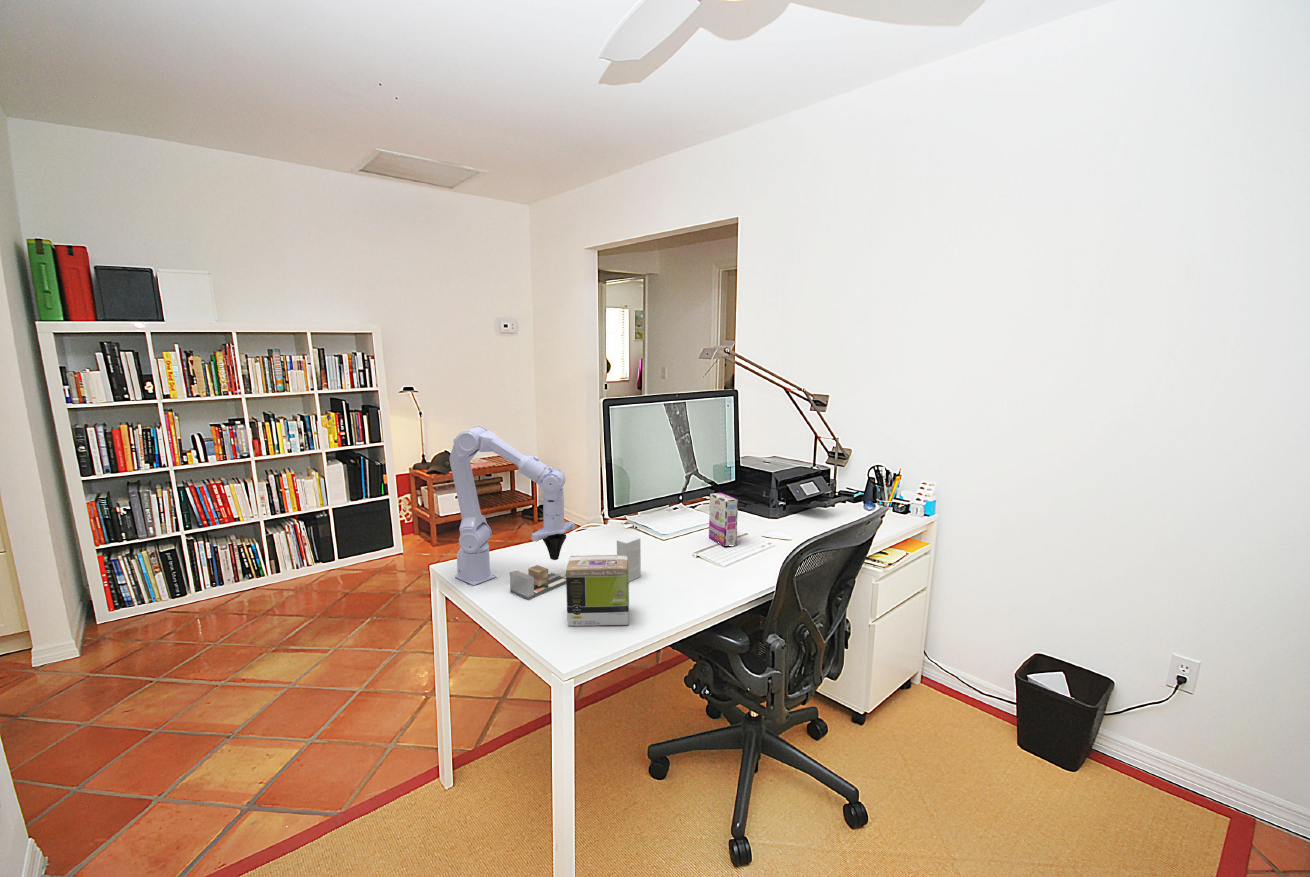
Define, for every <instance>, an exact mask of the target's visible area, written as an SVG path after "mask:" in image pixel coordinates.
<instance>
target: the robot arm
mask: <svg viewBox="0 0 1310 877" xmlns="http://www.w3.org/2000/svg"><path fill="white" fill-rule="evenodd" d="M452 442H453V446H452V448H451V451H450V454H449V458H448V459H449V465H450V469H451V472H452V474H451V475H452V478H453V483H454V488H455V492H456V493H455V494H456V498H457V502H458V506H459V511H460V515H461V521H460V522H461V523H460V526H459V530H458V531H459V537H458V538H459V539H458V544H459V547H460V548H459V550H458V551H457V554H456V567H457V568H456V570H457V574H456V575H454V577H455V578H457V579H459V580H460V581H462V582H464V583H467V584H470V585H472V586H475V585H478V584H481V583H484V582H487V581H490V580H492V579H495V578H497V574H495V573H492V572H491V565H490V563H491V562H490V545H489V540H490V539H491V538H492V532H493V531H492V529H491V526H489V524H488V522H487V519H486V517H485V516H484V515H483V514H482V512H481V506H480V502H479V498H478V492H477V488H476V483H475V479H474V474H473V473H474V472H473V470H472V465H471V461H472V459H473V458H474V457H475V455H476V454H478V452H479V453H489V452H490V453H491V452H492V453H494V454H497V455H498V456H500V457H501V458H503V459H504V460H506V461H507V462H510V463H512V464H513V465H515V466H517V469H518V472H519V474H521V475H523V476H525V477H526V478H527V479H529V480H531V481H532V482H534V483H535V484H536V485H539V486H540V488H541V490H542V492H543V494H542V495H543V498H542V500H543V501H542V502H543V503H542V505H543V506H542V507H543V508H542V509H543V510H542V513H543V515H542V516H543V518H542V519H543V527H542V528H540V529H539V530H537V531H535V532H532V533H531V541H533V542H539V541H541V540H542V541H543V543H544V544H545V546H546V549H547V551H548V555H549V558H550V560H553V561H556V560H559V558H560V553H561V550H562V548H563V545H564V543H565V541H566V539H567V534H566V532H567V531H570V530H572V531H573V530H575V529H576V522H573V521H568V522H565V507H564V506H565V497H564V488H563V487H564V485H565V483H566V476H565V474H564V473H563V471H561V470H560V469H558V468H554V466H551V465H549V466H548V465H547V464H546V463H544V462H542V461H540V457H539V456H537V455H534V456H533V455H531V454H530V455H524V454H522V453H521V452H519V451H518V450H517V449H515V448H514V447H513V446H511V445H510V444H508V443H507V442H506V441H504V440H503V439H502V438H500V437H499V436H497V434H495V433H494V431H491V430H488V429H487V428H486V427H485V426H482V425H477V426H474V427H472V428H468V429H466V430H462V431H461V432H459V433H458V435H456V437H455V438H454V439H453V441H452Z"/></svg>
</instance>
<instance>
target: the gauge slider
mask: <svg viewBox="0 0 1310 877" xmlns="http://www.w3.org/2000/svg"><path fill="white" fill-rule="evenodd" d="M548 574H549V568H546V567H544V566H541V565H537V564H536V565H534V566H531V567H528V568H527V575H529V576H532V577H534V584H535V585H537V586H541V585H542V586H544V587H546V588H547V587H548V585H546V583H548Z"/></svg>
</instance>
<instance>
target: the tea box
mask: <svg viewBox="0 0 1310 877" xmlns="http://www.w3.org/2000/svg"><path fill="white" fill-rule="evenodd" d="M565 578H566V584H565V587H566V588H565V589H566V592H565V594H566V614H567V615H566V617H567V626H568V627H572V626H573V627H576V626H580V627H582V626H583V627H584V626H585V627H586V626H629V625H630V624H629V621H630V618H629V614H630V613H629V612H630V592H629V591H630V588H629V587H630V585H629V584H630V583H629V575H628V555H617V554H602V555H600V554H598V555H597V554H595V555H570V556H569V558H568V563H567V566H566V569H565Z"/></svg>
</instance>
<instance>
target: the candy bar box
mask: <svg viewBox="0 0 1310 877" xmlns="http://www.w3.org/2000/svg"><path fill="white" fill-rule="evenodd" d="M738 509H739V499H738V498H735V497H733V496H730V495H728V494H725V493H723V492H715V493H710V494H709V518H708V519H709V520H708V522H709V523H708V525H709V526H708V538H709V539H710V540H711V539H712V540H711V541H713V540H714V541H713V542H715V541H716V542H719V543H720V544H721V545H723V546H729V545H736V546H737V535H738V532H737V530H738V515H739V514H738ZM716 542H715V543H716ZM720 544H719V545H720ZM721 545H720V546H721ZM723 546H722V547H723Z"/></svg>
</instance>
